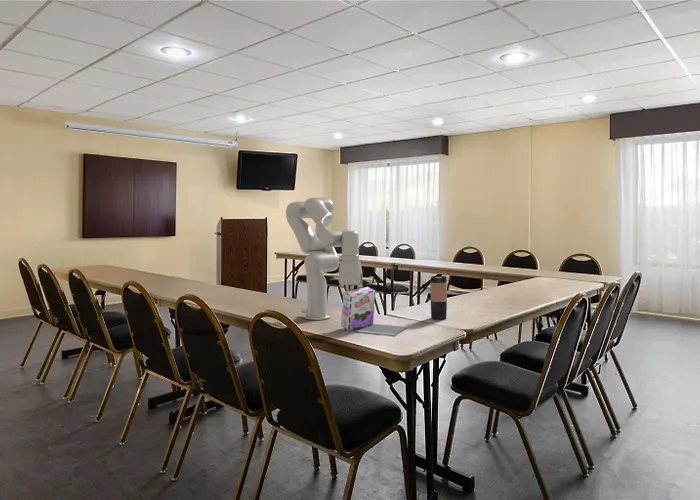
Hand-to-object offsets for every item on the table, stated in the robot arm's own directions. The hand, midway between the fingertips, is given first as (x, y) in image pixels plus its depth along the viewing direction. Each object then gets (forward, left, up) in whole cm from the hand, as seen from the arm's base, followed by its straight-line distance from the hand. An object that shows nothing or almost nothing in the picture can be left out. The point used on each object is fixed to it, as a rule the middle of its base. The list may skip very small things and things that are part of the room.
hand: (351, 299), depth 221 cm
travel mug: (+31, +32, -13) cm, 46 cm away
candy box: (+3, 0, -12) cm, 12 cm away
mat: (+15, 0, -12) cm, 19 cm away
